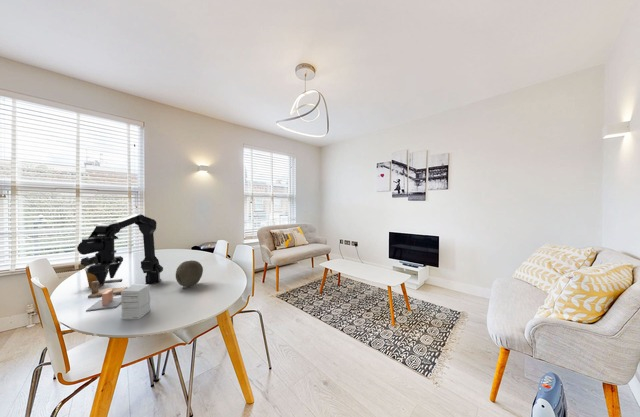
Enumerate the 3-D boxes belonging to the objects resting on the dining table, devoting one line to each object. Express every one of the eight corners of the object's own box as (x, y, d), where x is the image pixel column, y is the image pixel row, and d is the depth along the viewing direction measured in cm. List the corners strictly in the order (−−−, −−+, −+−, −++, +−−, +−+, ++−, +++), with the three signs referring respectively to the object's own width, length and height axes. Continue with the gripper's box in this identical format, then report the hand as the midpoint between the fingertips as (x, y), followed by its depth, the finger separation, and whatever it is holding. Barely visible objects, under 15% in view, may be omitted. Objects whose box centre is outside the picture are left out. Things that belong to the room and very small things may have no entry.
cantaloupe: (204, 287, 130) (204, 262, 130) (176, 292, 123) (175, 265, 122) (201, 279, 142) (201, 256, 142) (175, 284, 134) (175, 260, 134)
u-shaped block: (113, 300, 111) (112, 289, 111) (107, 305, 106) (107, 293, 106) (108, 300, 110) (107, 289, 110) (102, 305, 105) (101, 294, 105)
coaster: (126, 297, 115) (126, 296, 115) (116, 307, 105) (116, 306, 105) (99, 301, 111) (99, 299, 111) (86, 311, 101) (86, 310, 101)
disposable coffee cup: (111, 283, 133) (111, 264, 133) (91, 289, 124) (90, 268, 124) (101, 281, 136) (101, 262, 136) (81, 287, 127) (80, 267, 127)
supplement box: (133, 311, 102) (133, 284, 101) (150, 310, 103) (150, 284, 102) (120, 319, 95) (120, 290, 94) (139, 319, 95) (138, 290, 95)
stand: (88, 297, 115) (87, 284, 114) (96, 291, 122) (96, 279, 122) (120, 294, 120) (120, 281, 119) (127, 288, 127) (127, 276, 127)
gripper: (95, 246, 113) (96, 276, 113) (70, 255, 95) (71, 290, 96) (123, 245, 117) (123, 274, 117) (104, 253, 99) (104, 287, 100)
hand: (107, 281), depth 108 cm, fingers open, 9 cm apart
